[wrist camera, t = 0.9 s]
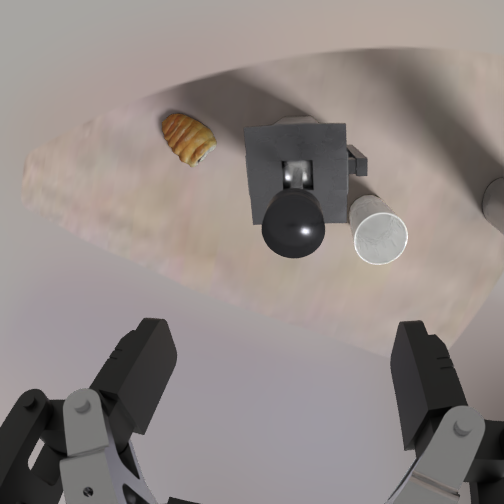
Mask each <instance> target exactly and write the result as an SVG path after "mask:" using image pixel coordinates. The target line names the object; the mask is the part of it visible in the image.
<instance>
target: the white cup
mask: <svg viewBox="0 0 504 504" xmlns="http://www.w3.org/2000/svg"><path fill="white" fill-rule="evenodd" d="M349 219H350V228H351V233H352V238H353V242H354V247H355V250H356V252H357V254H358V255H359V257H360V258H361V259H363V260H364V261H366V262H368V263H370V264H375V265H382V264H386V263H389V262H391V261H393V260H395V259H396V258H398V257H399V256H400V255H401V253H402V252H403V251H404V249H405V247H406V244H407V240H408V233H407V228H406V226H405V224H404V222H403V221H402V220H401V219H400V218H399V217H398V215H397V214H396V213H395V212H394V211H393V210H392V209H391V208H390V207H389V206H388V205H387V204H386V203H384V202H383V201H382V199H381V198H378V197H376V196H374V195H365V196H362V197H360V198H358V199H356V200H355V201H354V203H353V204H352V206H351V207H350V212H349Z"/></svg>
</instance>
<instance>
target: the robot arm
mask: <svg viewBox="0 0 504 504" xmlns="http://www.w3.org/2000/svg"><path fill="white" fill-rule="evenodd" d="M482 206H483V213H484V216H485V218H486V219H487V221H488V222H489V223H491V224H492V225H493V226H494V227H495V228H496V229H498V230H499V231H500V232H501V233H502V234H503V235H504V178H499V179H496V180H494V181H493V182H492V183H491V184H490V185H489V186H488V188H487V190H486V192H485V194H484V197H483V205H482ZM176 361H177V351H176V347H175V344H174V342H173V339H172V336H171V333H170V330H169V327H168V324H167V321H166V320H165V319H157V318H156V319H155V318H144V319H143V320H142V321H141V323H140V324H139V326H138V327H137V329H136V330H132V331H130V332H129V333H128V334H126V335H125V336H124V337H123V338H122V339H121V340H120V341H119V343H118V345H117V346H116V347H115V351H113V352H112V353H111V355H110V358H109V359H107V361H106V362H105V364H104V365H103V367H102V369H101V370H100V372H99V373H98V375H97V376H96V378H95V379H94V381H93V383H92V384H91V386H90V387H89V388H88V389H79V390H77V391H75V392H73V393H72V394H70V395H69V396H68V397H67V399H66V400H49V399H48V398H47V397H46V395H45V394H44V393H43V392H42V391H41V390H39V389H31V390H28V391H26V392H25V393H23V394H22V395H21V396H20V397H19V399H18V400H17V402H16V403H15V405H14V407H13V408H12V409H11V411H10V413H9V414H8V416H7V417H6V419H5V421H4V422H3V424H2V426H1V427H0V504H58V502H59V500H60V498H61V495H62V493H63V491H64V496H65V501H66V504H158V503H157V501H156V499H155V497H154V496H153V494H152V493H151V491H150V489H149V488H148V486H147V484H146V482H145V480H144V477H143V475H142V472H141V469H140V466H139V463H138V460H137V457H136V454H135V451H134V448H133V444H132V442H131V440H130V437H131V435H132V433H133V432H135V433H138V434H142V435H144V434H145V432H146V430H147V427H148V425H149V423H150V420H151V419H152V416H153V414H154V412H155V410H156V407H157V405H158V403H159V401H160V398H161V396H162V394H163V392H164V390H165V387H166V385H167V383H168V381H169V378H170V376H171V374H172V372H173V370H174V367H175V365H176ZM390 366H391V374H392V379H393V384H394V389H395V394H396V400H397V405H398V411H399V417H400V423H401V430H402V436H403V443H404V450H405V451H407V450H414V449H415V452H416V459H415V460H414V462H413V463H412V465H411V466H410V468H409V469H408V471H407V472H406V474H405V475H404V477H403V478H402V480H401V481H400V483H399V484H398V486H397V487H396V488H395V490H394V491H393V493H392V494H391V495H390V497H389V498H388V499H387V501H386V502H385V503H384V504H457V503H458V501H459V497H460V495H459V494H458V491H459V489H460V487H461V485H462V483H463V482H469V485H470V494H471V504H504V421H503V422H502V421H491V420H485V419H483V417H482V415H481V414H480V413H479V412H478V411H477V410H475V409H474V408H472V407H469V406H468V404H467V401H466V398H465V395H464V393H463V390H462V387H461V384H460V381H459V378H458V376H457V373H456V370H455V368H454V365H453V363H452V360H451V359H450V355H449V353H448V350H447V348H446V345H445V344H444V343H443V342H442V341H441V340H440V339H439V338H438V337H437V335H436V334H434V335H428V333H427V331H426V328H425V326H424V323H423V322H422V321H421V320H418V321H403V322H400V323H399V325H398V329H397V333H396V338H395V342H394V346H393V350H392V354H391V362H390ZM39 438H40V439H41V440H42V441H43V442H44V443H45V444H44V446H43V448H42V450H41V452H40V454H39V456H38V458H37V460H36V462H35V464H34V466H33V468H32V469H31V470H30V469H29V467H28V459H29V457H30V455H31V453H32V451H33V449H34V447H35V445H36V443H37V441H38V440H39ZM167 504H199V503H194V502H190V501H185V500H180V499H177V498H172V497H169V500H168V503H167Z"/></svg>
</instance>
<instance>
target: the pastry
mask: <svg viewBox="0 0 504 504" xmlns="http://www.w3.org/2000/svg"><path fill="white" fill-rule="evenodd" d="M162 131H163V133H164V138H165V140H167V142H168V145H169V146H170V147H171V148H172V151H173V152H174V153H175V154H177V155H178V156H179V158H180V161H182V162H184V163H187V164H189V165H190V167H196V166H197V165H198V163H199V162H201V161H202V160H203V159H204V158H205V157H206V155H207V154H208V153H209V152H211V151H213V149H214V148H215V147H216V144H217V143H216V139H215V137H214V136H213V134H212V132H211V130H210V129H208V128H207V127H206V126H204V125H203V124H201V123H200V122H198V121H196V120H194V119H192V118H190V117H188V116H186V115H183V114H171V115H169V116H168V117H167V118H166V119H165V120H164V121H163V122H162Z"/></svg>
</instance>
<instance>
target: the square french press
mask: <svg viewBox="0 0 504 504" xmlns="http://www.w3.org/2000/svg"><path fill="white" fill-rule="evenodd" d="M244 137H245V147H246V156H245V157H246V167H247V177H248V187H249V195H250V197H251V208H252V218H253V225H259V224H262V222H263V218H264V215H265V212H266V209H267V207H268V204H269V202H270V200H271V199H272V198H273V196H275V195H276V194H277V193H278V192H280V191H282V190H285V189H284V187H283V171H282V161H297V160H312V162H313V188H303V189H304V190H306V191H308V192H310V193H312V194H313V195H314V196H315V197H316V198H317V199H318V201H319V202H320V204H321V207H322V211H323V217H324V223H347V194H348V174H356V176H367V157H365V156H364V155H363V154H362V153H361V152H360V151H359V150H358V149H356V148H355V147H354V146H353V145H346V124H345V123H319V122H318V121H316V120H315V119H314V118H313V117H312V116H291V117H283V118H281V119H280V120H279V121H277V122H276V123H274V124H273V125H266V126H252V127H244Z"/></svg>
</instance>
